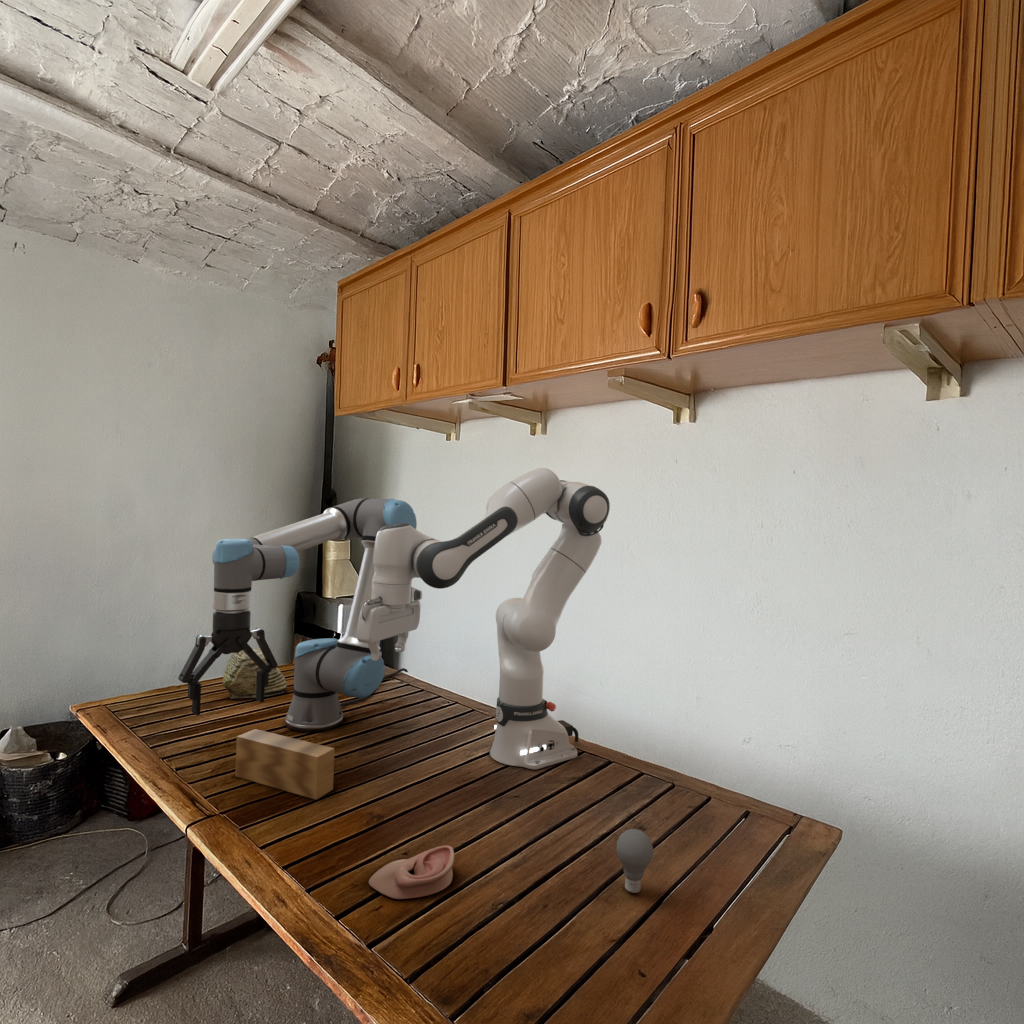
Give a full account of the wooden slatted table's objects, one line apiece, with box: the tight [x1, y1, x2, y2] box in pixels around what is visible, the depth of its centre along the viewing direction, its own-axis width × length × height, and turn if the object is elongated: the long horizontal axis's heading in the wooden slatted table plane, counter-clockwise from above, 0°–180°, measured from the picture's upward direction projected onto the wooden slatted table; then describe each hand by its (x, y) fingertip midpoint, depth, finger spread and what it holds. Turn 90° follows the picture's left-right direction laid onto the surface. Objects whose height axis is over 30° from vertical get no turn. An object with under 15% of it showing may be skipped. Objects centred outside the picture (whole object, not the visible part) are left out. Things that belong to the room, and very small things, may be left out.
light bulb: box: [615, 828, 654, 894], centre depth 106 cm, size 6×6×10 cm
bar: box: [234, 728, 336, 801], centre depth 139 cm, size 23×5×9 cm, turn 66°
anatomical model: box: [368, 844, 455, 900], centre depth 106 cm, size 13×4×12 cm
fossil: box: [222, 647, 288, 699], centre depth 198 cm, size 9×18×15 cm, turn 132°
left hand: (229, 707), depth 138 cm, fingers open, 13 cm apart
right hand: (388, 655), depth 144 cm, fingers open, 8 cm apart
